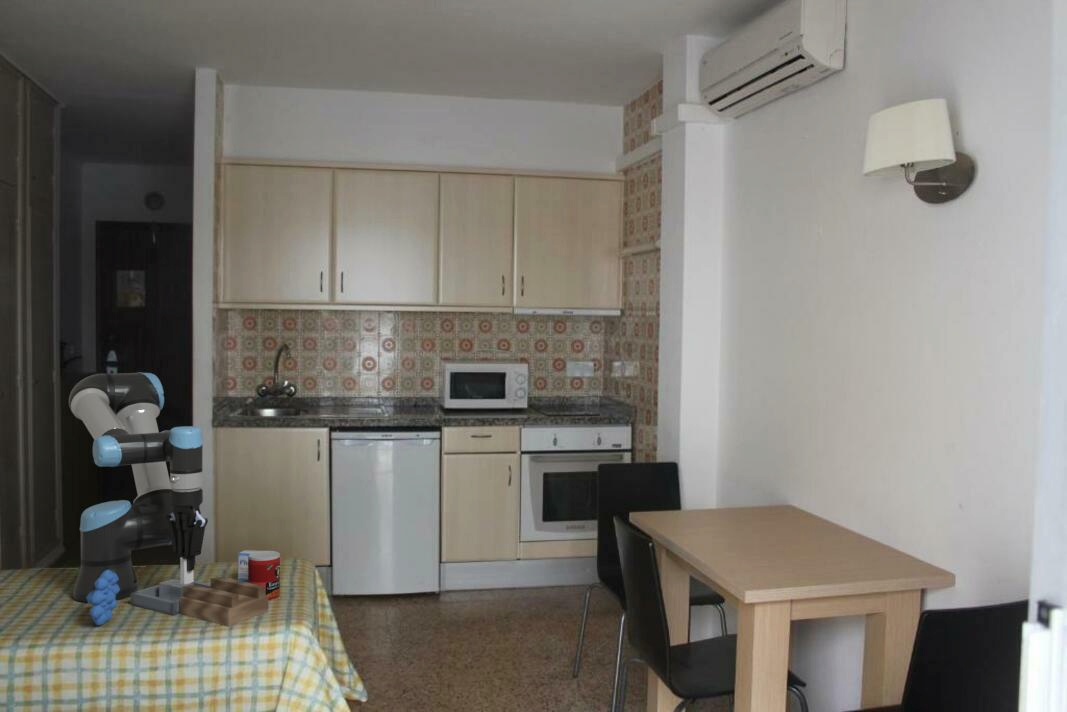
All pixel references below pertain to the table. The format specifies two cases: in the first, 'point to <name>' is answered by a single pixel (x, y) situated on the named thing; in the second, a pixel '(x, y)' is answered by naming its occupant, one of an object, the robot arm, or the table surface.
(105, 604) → the grapes
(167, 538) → the robot arm
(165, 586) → the grey stone cube
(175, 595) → the grey cube
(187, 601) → the slot block
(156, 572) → the table surface
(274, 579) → the canned food
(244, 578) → the medicine box
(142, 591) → the tray
